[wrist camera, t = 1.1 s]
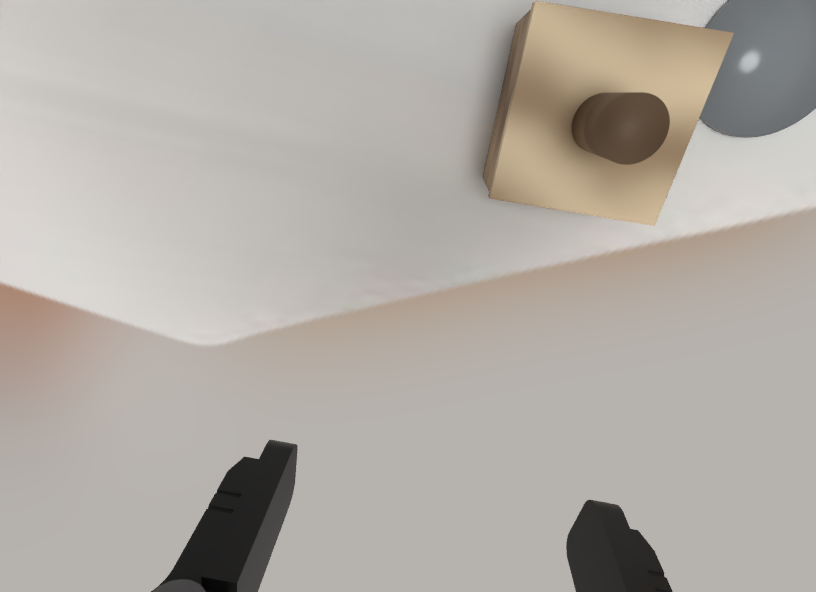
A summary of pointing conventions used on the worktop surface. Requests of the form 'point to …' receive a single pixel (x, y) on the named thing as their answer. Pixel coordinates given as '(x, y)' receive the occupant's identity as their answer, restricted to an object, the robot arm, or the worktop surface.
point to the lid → (603, 111)
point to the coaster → (763, 67)
